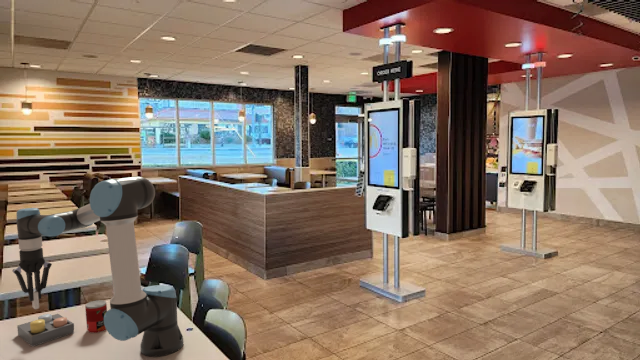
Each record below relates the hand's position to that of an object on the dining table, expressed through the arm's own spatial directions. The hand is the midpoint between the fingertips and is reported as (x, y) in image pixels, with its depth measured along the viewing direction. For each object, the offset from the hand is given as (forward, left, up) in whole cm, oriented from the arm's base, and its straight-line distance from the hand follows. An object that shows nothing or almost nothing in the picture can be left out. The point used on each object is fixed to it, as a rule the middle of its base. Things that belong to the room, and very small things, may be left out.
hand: (35, 307), depth 172 cm
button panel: (+4, -4, -13) cm, 15 cm away
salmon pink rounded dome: (0, -8, -11) cm, 14 cm away
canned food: (-8, -19, -14) cm, 25 cm away
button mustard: (0, 0, -9) cm, 9 cm away
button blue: (+9, -6, -11) cm, 15 cm away
